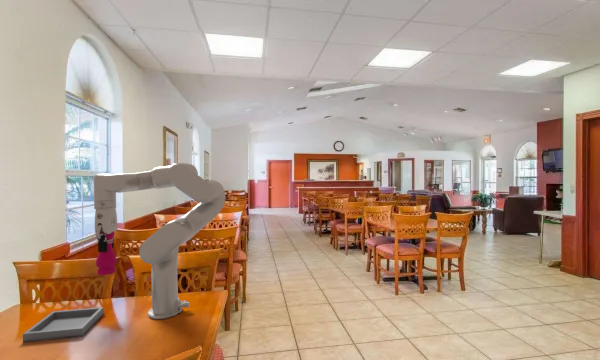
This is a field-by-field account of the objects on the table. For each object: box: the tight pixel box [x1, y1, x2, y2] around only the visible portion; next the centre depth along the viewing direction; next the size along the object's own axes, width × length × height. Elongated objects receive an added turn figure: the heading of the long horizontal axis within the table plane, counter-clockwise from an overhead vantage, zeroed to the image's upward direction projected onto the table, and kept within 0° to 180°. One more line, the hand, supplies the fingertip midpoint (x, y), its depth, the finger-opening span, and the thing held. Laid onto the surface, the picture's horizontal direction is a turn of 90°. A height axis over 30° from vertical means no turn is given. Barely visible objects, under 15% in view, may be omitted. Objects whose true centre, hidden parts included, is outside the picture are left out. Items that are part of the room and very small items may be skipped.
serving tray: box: [22, 306, 105, 343], centre depth 119 cm, size 18×18×3 cm
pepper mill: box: [95, 231, 118, 276], centre depth 130 cm, size 7×7×20 cm
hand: (106, 249), depth 130 cm, fingers closed on pepper mill, 5 cm apart
